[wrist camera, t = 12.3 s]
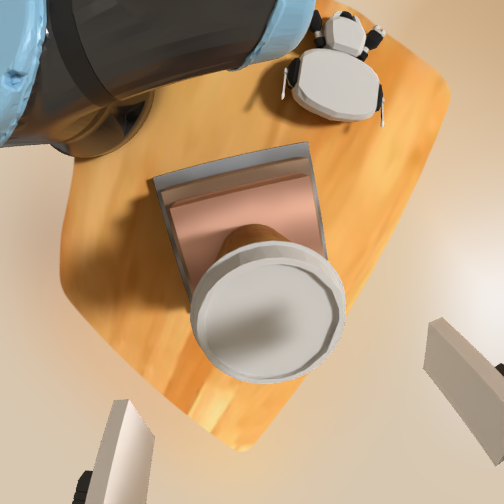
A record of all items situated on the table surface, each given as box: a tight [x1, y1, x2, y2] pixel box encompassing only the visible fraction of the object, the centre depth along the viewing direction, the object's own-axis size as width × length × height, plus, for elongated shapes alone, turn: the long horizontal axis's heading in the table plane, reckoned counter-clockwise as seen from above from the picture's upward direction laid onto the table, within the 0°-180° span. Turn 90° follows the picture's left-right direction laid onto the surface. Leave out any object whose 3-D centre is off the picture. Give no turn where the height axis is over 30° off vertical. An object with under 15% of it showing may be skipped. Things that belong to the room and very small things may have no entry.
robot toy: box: [281, 8, 386, 128], centre depth 30 cm, size 12×4×15 cm
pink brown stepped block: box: [153, 142, 328, 303], centre depth 33 cm, size 18×18×10 cm
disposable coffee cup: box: [190, 224, 346, 384], centre depth 23 cm, size 10×10×12 cm
